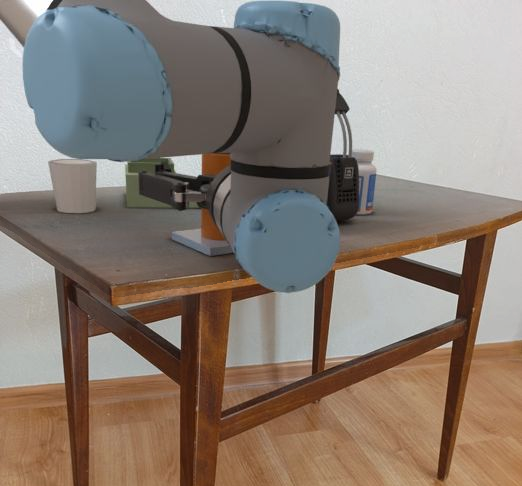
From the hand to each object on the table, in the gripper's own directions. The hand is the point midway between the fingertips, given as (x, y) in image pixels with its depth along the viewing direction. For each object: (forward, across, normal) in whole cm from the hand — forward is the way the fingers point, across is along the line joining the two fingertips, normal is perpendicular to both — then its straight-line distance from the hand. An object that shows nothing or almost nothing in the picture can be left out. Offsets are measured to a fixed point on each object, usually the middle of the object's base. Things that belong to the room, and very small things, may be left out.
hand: (217, 174), depth 75 cm
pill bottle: (+17, +26, -8) cm, 32 cm away
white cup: (+18, -19, -8) cm, 27 cm away
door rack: (+26, -2, -8) cm, 27 cm away
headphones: (+17, +16, -8) cm, 25 cm away
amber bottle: (-3, 0, -7) cm, 8 cm away
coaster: (-3, 0, -8) cm, 9 cm away
